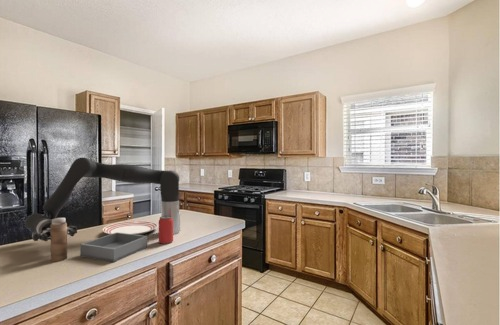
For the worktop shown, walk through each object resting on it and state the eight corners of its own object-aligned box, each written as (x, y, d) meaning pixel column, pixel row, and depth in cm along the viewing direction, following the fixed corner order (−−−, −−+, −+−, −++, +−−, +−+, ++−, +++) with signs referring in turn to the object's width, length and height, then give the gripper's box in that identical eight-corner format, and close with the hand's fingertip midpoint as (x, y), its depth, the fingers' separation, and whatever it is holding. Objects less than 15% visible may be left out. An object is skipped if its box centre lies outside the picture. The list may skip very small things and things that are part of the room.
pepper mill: (61, 256, 106) (60, 217, 106) (70, 257, 104) (69, 218, 104) (47, 260, 101) (47, 219, 101) (56, 262, 99) (56, 220, 99)
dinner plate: (166, 226, 153) (166, 220, 153) (142, 241, 126) (142, 234, 126) (122, 225, 156) (122, 219, 156) (89, 239, 129) (89, 232, 129)
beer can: (174, 239, 127) (174, 215, 127) (171, 244, 120) (171, 218, 120) (161, 239, 127) (161, 215, 127) (156, 244, 120) (156, 218, 120)
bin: (116, 242, 122) (116, 232, 122) (147, 247, 116) (147, 236, 116) (80, 256, 105) (80, 244, 105) (114, 262, 99) (113, 249, 99)
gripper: (27, 223, 106) (36, 230, 96) (68, 217, 117) (81, 222, 107) (27, 241, 106) (37, 250, 96) (68, 233, 117) (81, 241, 107)
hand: (60, 235), depth 101 cm, fingers open, 8 cm apart
